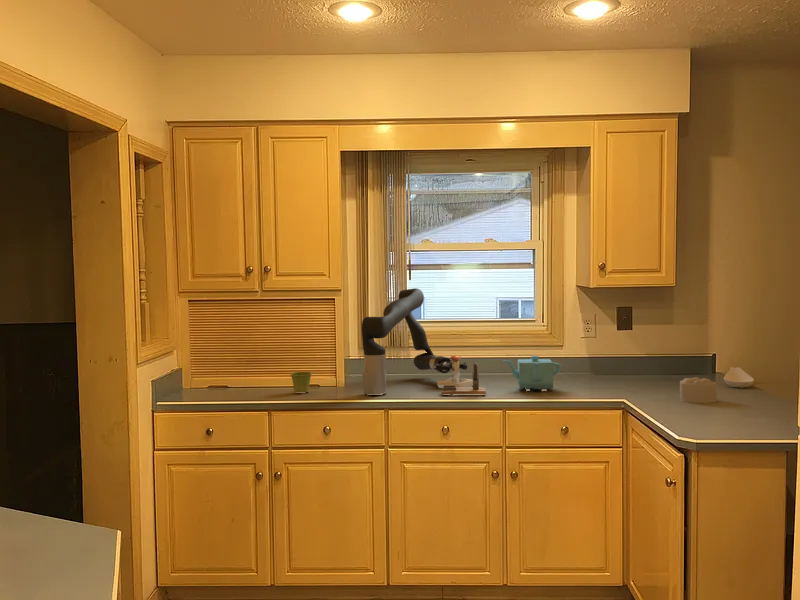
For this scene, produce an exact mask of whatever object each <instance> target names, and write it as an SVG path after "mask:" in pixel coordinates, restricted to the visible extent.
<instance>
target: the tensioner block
mask: <svg viewBox="0 0 800 600" xmlns="http://www.w3.org/2000/svg"><path fill="white" fill-rule="evenodd" d="M478 368H479V366H478V363H477V361H476V362H473V364H472V380H473V387H456V385H449V386H443V388H442V391H441V394H450V395H453V394H486V395H487V392H486V387H485V386H484V387H483V386H479V385H480V384H479V379H480V378H479V372H478V370H479V369H478Z"/></svg>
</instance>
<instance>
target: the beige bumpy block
mask: <svg viewBox="0 0 800 600" xmlns="http://www.w3.org/2000/svg"><path fill="white" fill-rule="evenodd" d="M717 385H718V384H717V382H715V381H714V380H713V381H711V379H709V378H705V377H702V378H701V377H698V376H695V377H685V378H683V379H682V380H679V400H680V399H681V400H680V402H681V401H683V402H682V403H687V402H695V403H694V404H712V403H711V402H714V403H717V396H718V395H717V394H718V393H717V392H718V391H717V390H718V389H717V387H718V386H717Z"/></svg>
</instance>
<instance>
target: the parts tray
mask: <svg viewBox="0 0 800 600" xmlns="http://www.w3.org/2000/svg"><path fill="white" fill-rule="evenodd" d="M460 382H461V383H454V382H452V377H450V378H446V379H441V380H437V383H436V385H444V386H449V385H456V387H463V386H467V385H470V384H473V379H468V378H460Z"/></svg>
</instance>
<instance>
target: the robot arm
mask: <svg viewBox="0 0 800 600" xmlns="http://www.w3.org/2000/svg"><path fill="white" fill-rule="evenodd" d="M424 299H425V296H424V292H423V291H422V290H421V289H420V288H417V287H416V288H408V289H402V290H400V291H399V292H398V298H397V299H396V300H393V301H391V302H390V303H389V304H387V305H386V306H385V307H384V309H383V312H382V315H383V316H364V317H363V319H362V321H361V338H362V349H363V367H364V369H363V371H364V372H362V392H363V393H364V394H380V393H384V392H386V393H387V371H386V370H387V367H386V365H387V364H386V348H385V346H383V345H380V344H378V343H377V342H376V341H375V339H384V338H386V337H387V336H388V335H389V334H390V332H391V331H392V330H393V329H394V328H395V327H396V326H397V325H398V324H399V323H400V322H401V321H402V320H404V319H405V322H406V324H407V327H408V329H409V334H410V336H411V340H412V344H413V348H414V349H415V350H416V351H424V350H425V351H426V352H427V353H424V352H423V354H422V353H420V354H417V355H415V357H414V358H413V361H414V362H413V365H414V364H415V365H414V367H415V366H416V367H417V368H418V369H417V368H416V367H415V368H416V369H417V370H421V371H424V370H425V371H426V370H432V371H435V372H437V373H441V374H447V373H449V372H450V371H452V359H451V358H450V357H448V356H447V357H446V356H444V355H443V356H442V355H436V354H434V352H433V351H432V349H431V347H430V345H429V342H428V339H427V333H426V331H425V329H424V327H423V326H422V325H421V323H420V322H419V321H418V320H417V319H416V318H415V316H414V314H413V313H412V312H414V311H415V310H416V309H419V308H420V307H421V306H423V303H424V301H425V300H424ZM415 350H414V351H415ZM459 370H468V365H467V363H466V362H462V361H459ZM363 393H362V394H363Z"/></svg>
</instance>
